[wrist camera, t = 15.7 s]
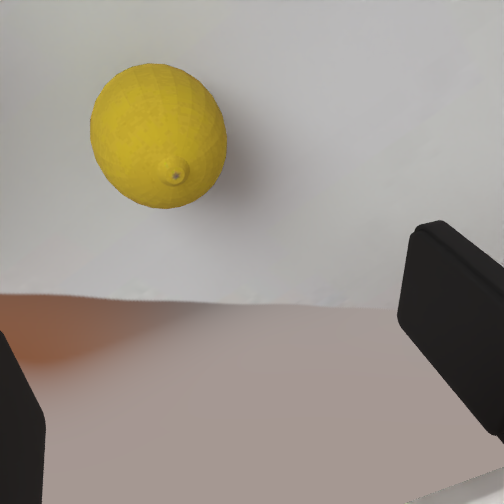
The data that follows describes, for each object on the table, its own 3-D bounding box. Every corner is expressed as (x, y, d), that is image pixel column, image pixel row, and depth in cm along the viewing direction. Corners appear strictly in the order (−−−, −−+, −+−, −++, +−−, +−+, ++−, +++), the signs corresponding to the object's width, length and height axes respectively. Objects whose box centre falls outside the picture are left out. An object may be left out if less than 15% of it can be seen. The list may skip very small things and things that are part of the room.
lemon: (141, 179, 25) (163, 266, 19) (61, 95, 22) (56, 167, 15) (224, 115, 24) (276, 183, 18) (156, 19, 21) (191, 60, 15)
